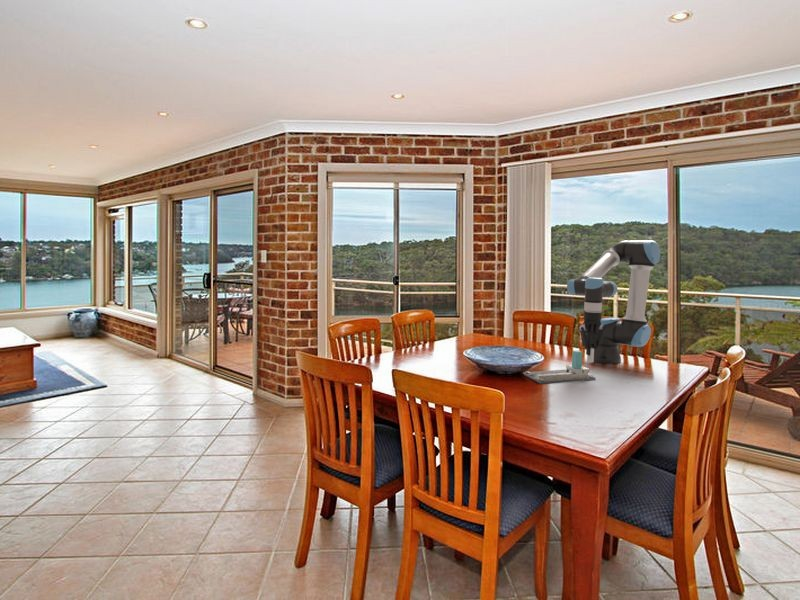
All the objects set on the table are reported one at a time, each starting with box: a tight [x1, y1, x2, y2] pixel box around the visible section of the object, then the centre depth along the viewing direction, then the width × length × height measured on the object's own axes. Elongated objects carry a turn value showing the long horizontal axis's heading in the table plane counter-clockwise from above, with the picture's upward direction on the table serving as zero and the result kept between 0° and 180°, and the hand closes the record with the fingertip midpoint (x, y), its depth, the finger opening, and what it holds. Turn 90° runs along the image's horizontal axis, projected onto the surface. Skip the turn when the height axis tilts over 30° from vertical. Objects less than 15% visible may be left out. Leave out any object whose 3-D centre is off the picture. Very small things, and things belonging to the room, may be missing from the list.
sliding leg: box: [565, 350, 583, 374], centre depth 219 cm, size 3×10×12 cm, turn 13°
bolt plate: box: [522, 369, 596, 385], centre depth 221 cm, size 28×16×2 cm, turn 103°
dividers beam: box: [537, 366, 591, 380], centre depth 218 cm, size 25×10×4 cm, turn 103°
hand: (590, 361), depth 218 cm, fingers closed
